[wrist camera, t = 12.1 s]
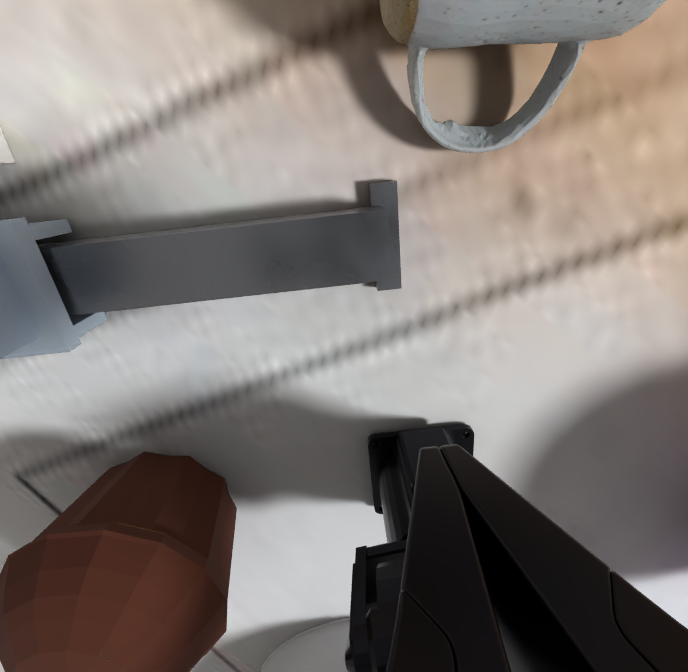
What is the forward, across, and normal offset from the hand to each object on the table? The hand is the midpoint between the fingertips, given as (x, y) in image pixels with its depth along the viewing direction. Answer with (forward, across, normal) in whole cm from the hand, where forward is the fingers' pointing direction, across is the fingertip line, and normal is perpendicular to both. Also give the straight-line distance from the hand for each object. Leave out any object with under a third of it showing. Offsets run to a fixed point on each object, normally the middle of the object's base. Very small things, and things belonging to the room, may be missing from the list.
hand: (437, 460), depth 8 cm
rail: (+12, +12, -3) cm, 17 cm away
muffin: (+12, +15, +13) cm, 23 cm away
